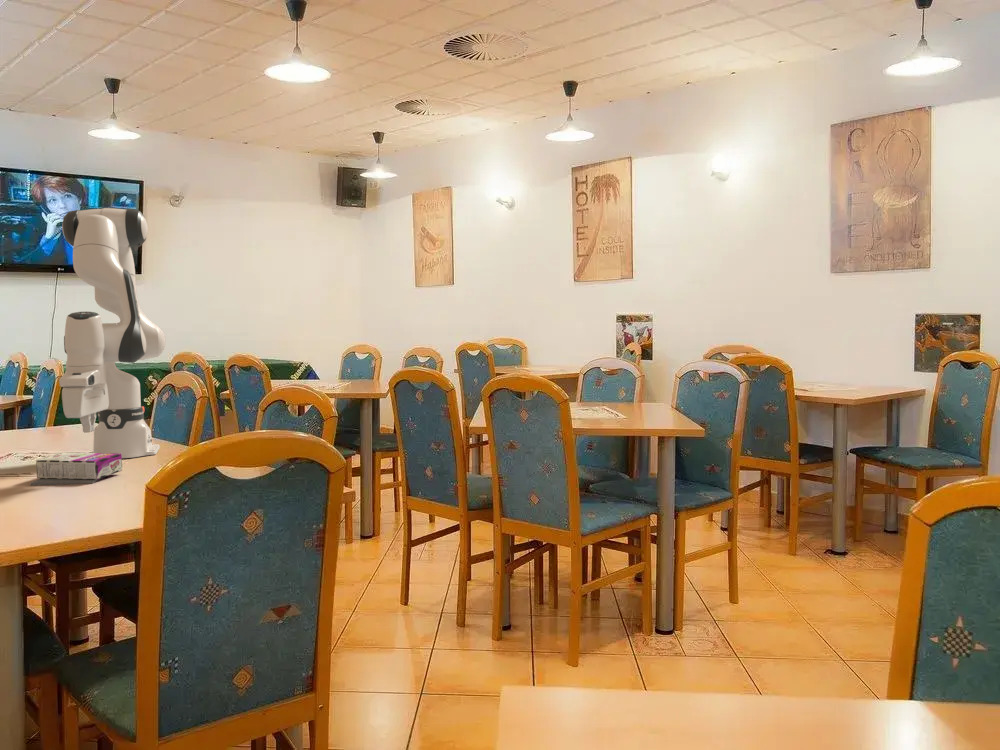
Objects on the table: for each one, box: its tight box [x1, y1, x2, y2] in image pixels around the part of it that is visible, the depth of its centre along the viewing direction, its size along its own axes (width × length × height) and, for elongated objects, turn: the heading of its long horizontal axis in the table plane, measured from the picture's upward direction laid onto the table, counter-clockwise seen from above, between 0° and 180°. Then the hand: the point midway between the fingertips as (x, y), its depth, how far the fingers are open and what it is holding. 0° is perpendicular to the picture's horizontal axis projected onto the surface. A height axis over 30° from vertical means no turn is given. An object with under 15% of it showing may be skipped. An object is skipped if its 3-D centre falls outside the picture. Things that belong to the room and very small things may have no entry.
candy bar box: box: [35, 451, 123, 480], centre depth 209 cm, size 11×5×16 cm
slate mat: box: [30, 476, 107, 486], centre depth 207 cm, size 11×14×1 cm
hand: (88, 431), depth 206 cm, fingers closed
